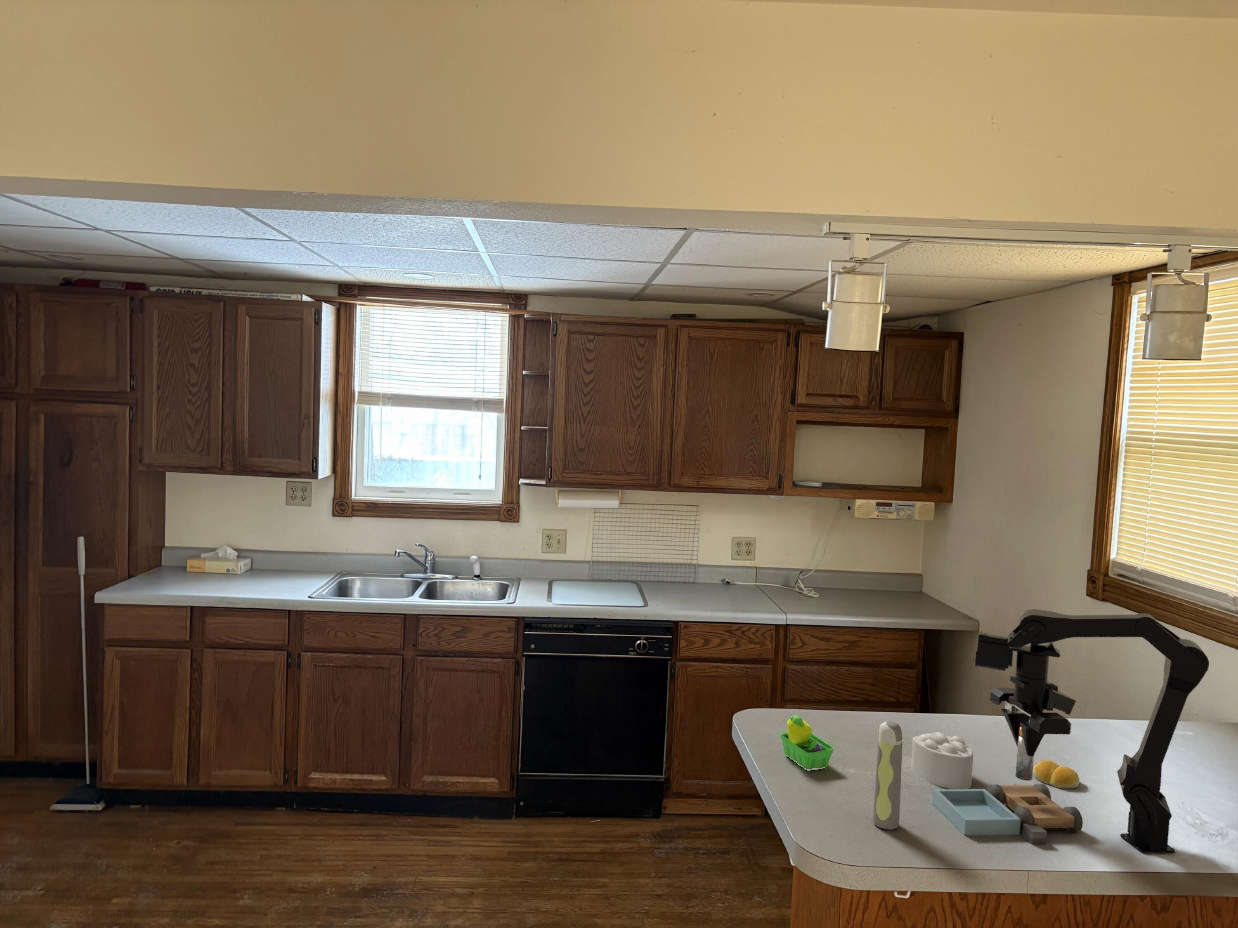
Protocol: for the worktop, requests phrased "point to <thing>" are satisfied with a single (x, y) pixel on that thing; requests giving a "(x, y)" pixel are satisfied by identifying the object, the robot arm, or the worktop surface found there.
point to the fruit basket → (805, 745)
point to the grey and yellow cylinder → (888, 776)
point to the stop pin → (1023, 760)
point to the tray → (976, 812)
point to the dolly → (1036, 810)
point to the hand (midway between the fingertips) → (1025, 752)
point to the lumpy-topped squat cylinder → (942, 760)
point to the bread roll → (1055, 775)
